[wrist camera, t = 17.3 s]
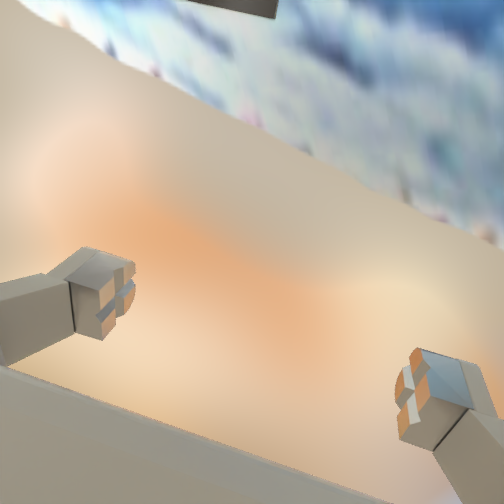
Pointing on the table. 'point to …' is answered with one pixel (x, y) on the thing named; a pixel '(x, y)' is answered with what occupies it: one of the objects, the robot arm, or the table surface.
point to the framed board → (246, 6)
